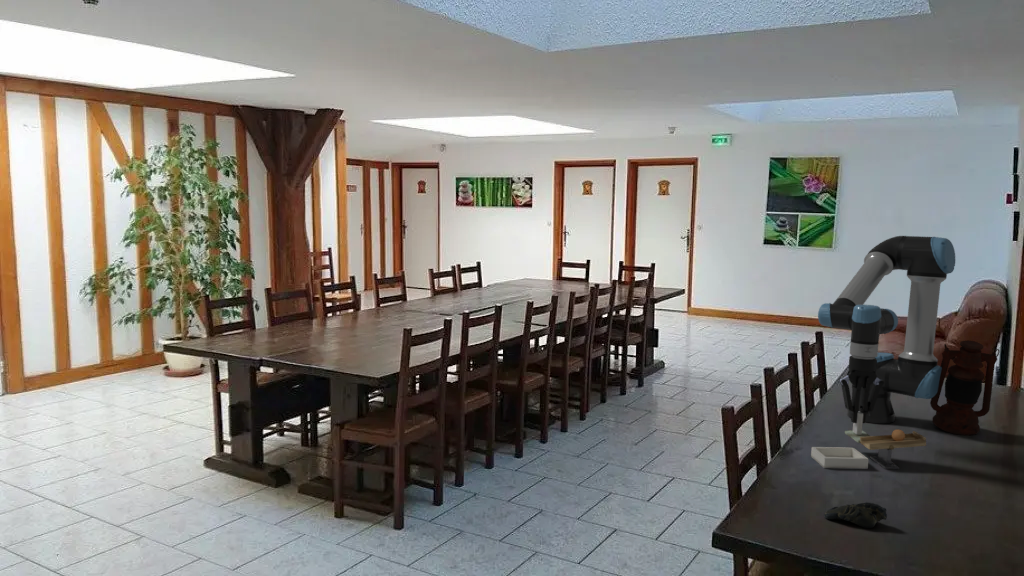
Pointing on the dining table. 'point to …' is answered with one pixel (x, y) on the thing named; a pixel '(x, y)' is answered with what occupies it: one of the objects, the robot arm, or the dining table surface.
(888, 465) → the fulcrum
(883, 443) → the lever
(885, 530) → the dining table surface
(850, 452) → the dish
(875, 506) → the stone
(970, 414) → the lantern
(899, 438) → the ball
